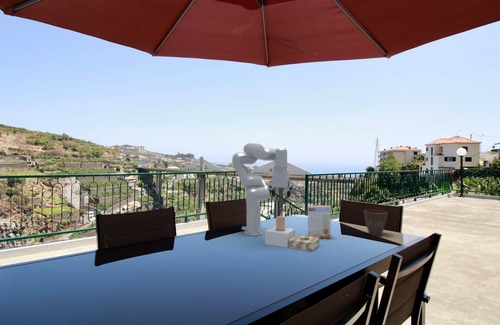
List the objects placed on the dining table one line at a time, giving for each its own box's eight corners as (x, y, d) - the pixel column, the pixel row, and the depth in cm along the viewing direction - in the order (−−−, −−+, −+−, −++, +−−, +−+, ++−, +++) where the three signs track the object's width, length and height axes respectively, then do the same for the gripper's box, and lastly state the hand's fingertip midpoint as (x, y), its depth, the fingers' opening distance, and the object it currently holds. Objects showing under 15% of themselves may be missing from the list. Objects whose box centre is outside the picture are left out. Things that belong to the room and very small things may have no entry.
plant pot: (388, 234, 201) (388, 210, 201) (385, 238, 189) (385, 213, 189) (366, 231, 209) (366, 209, 209) (361, 235, 197) (361, 211, 197)
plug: (276, 236, 175) (276, 217, 175) (278, 235, 179) (278, 215, 179) (282, 237, 173) (282, 217, 173) (284, 236, 177) (284, 216, 177)
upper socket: (265, 244, 173) (265, 230, 173) (274, 239, 185) (274, 226, 185) (287, 247, 166) (287, 233, 166) (295, 242, 179) (295, 229, 179)
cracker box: (329, 236, 192) (329, 205, 192) (330, 239, 186) (330, 206, 186) (307, 236, 194) (307, 204, 194) (308, 238, 188) (308, 206, 188)
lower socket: (288, 247, 166) (288, 240, 166) (296, 242, 178) (296, 234, 178) (312, 251, 159) (313, 243, 159) (319, 245, 172) (319, 237, 172)
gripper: (265, 168, 177) (265, 196, 177) (292, 169, 169) (292, 198, 169) (270, 168, 183) (270, 195, 183) (296, 168, 175) (296, 197, 175)
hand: (280, 197), depth 176 cm, fingers open, 9 cm apart
